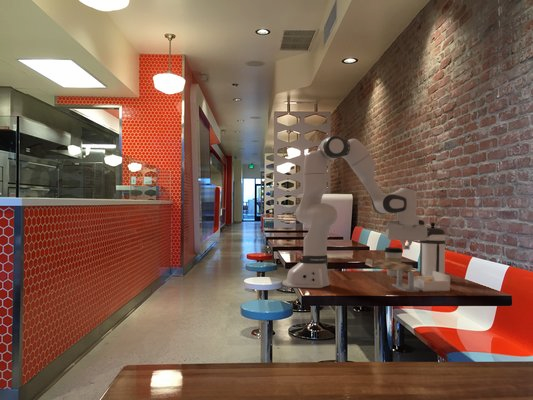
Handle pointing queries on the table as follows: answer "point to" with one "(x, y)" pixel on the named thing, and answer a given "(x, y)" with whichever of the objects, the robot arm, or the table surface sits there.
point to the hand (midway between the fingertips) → (405, 249)
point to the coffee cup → (393, 258)
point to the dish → (433, 282)
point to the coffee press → (432, 251)
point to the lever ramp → (389, 265)
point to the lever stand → (404, 286)
